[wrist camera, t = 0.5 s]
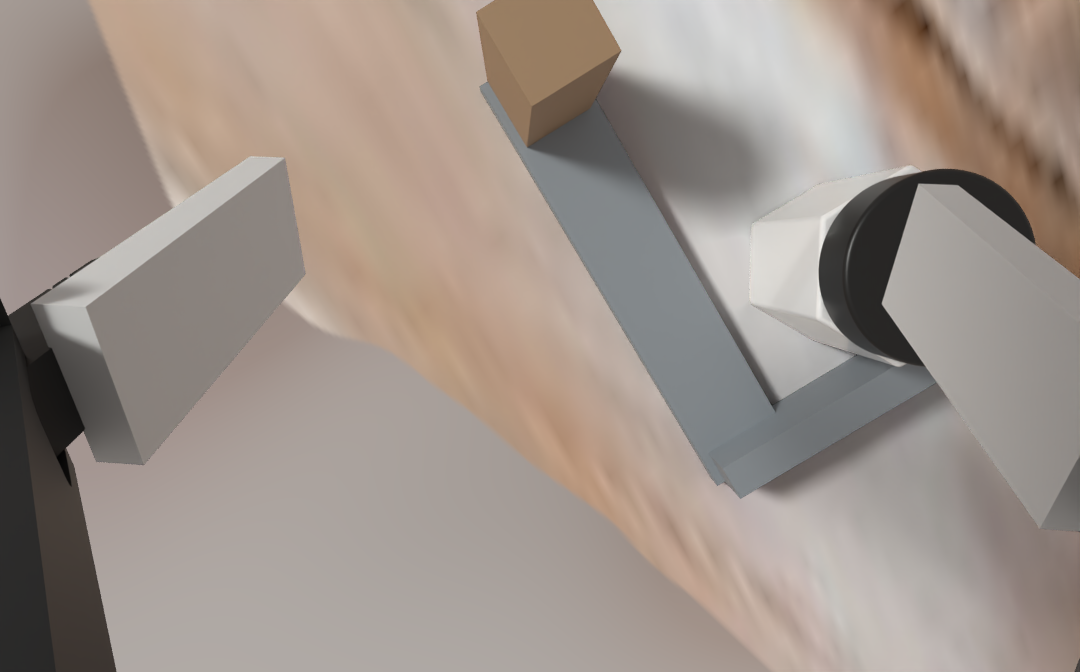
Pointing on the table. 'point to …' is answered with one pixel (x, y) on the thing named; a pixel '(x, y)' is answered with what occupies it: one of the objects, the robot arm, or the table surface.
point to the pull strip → (656, 255)
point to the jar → (851, 256)
